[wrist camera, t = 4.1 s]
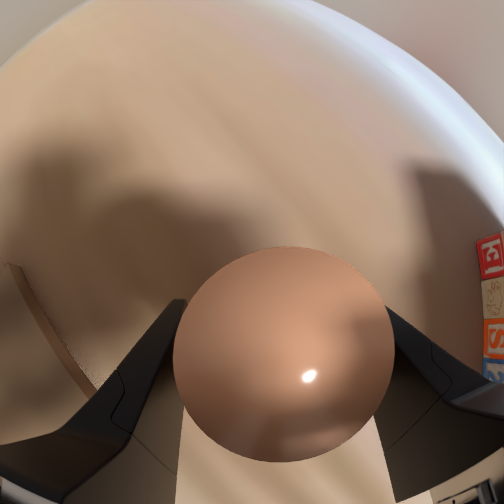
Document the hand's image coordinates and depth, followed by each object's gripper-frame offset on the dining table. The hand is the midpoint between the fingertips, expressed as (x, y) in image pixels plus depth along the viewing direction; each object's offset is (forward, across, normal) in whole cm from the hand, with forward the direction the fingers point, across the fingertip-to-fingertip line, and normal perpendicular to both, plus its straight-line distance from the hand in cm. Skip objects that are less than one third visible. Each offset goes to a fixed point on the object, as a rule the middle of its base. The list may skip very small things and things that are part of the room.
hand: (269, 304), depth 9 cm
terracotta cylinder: (+4, 0, +6) cm, 7 cm away
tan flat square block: (-1, +18, +11) cm, 21 cm away
